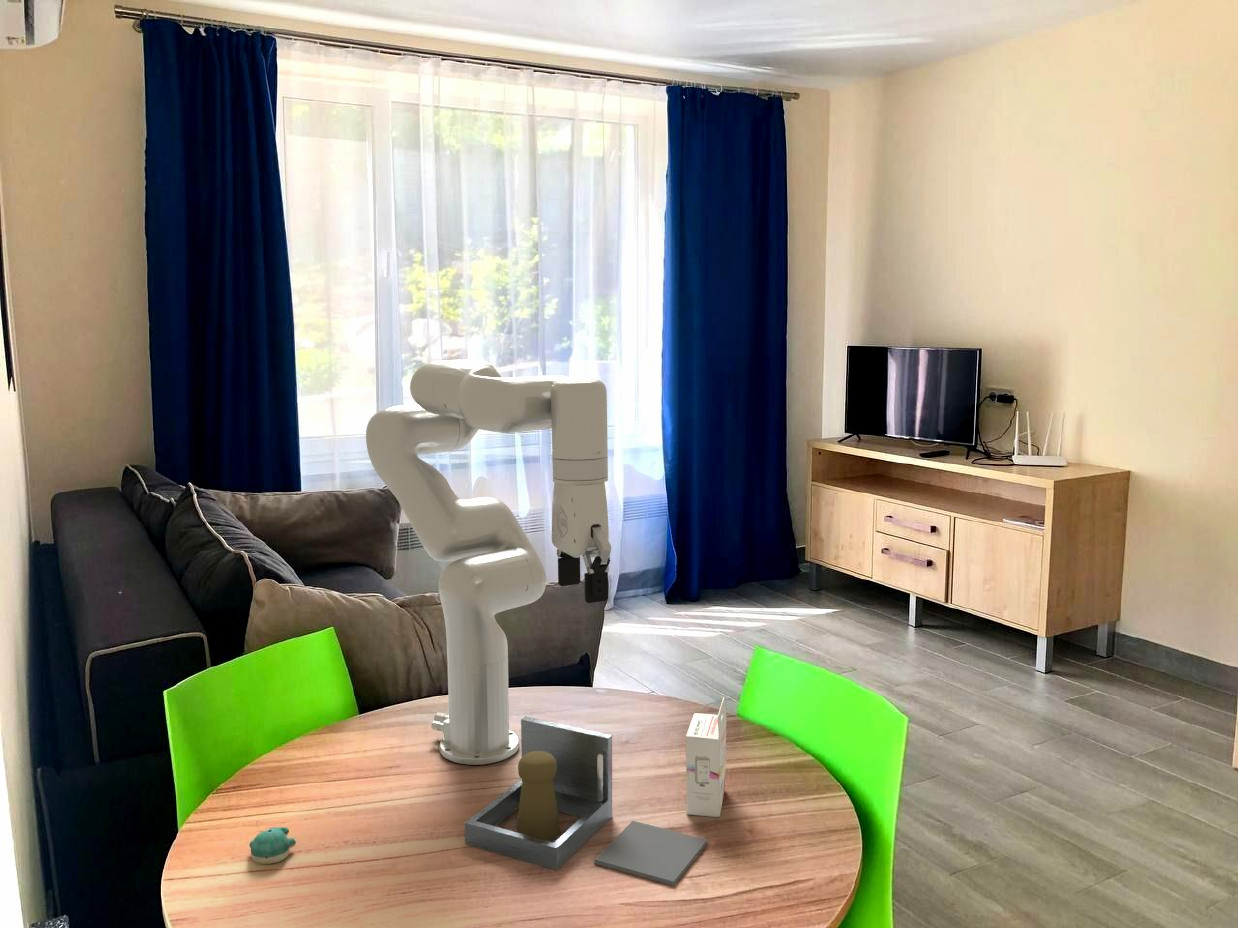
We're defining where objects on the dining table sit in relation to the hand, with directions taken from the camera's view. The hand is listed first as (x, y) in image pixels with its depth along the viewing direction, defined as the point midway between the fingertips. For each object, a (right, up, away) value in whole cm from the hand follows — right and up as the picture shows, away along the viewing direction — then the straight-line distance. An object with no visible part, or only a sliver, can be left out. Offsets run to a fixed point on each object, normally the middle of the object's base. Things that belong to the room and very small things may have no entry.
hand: (582, 592), depth 139 cm
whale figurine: (-40, -33, -8) cm, 52 cm away
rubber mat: (+9, -33, -8) cm, 35 cm away
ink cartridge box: (+17, -31, +5) cm, 36 cm away
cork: (-6, -32, -3) cm, 33 cm away
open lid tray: (-6, -32, -3) cm, 33 cm away
